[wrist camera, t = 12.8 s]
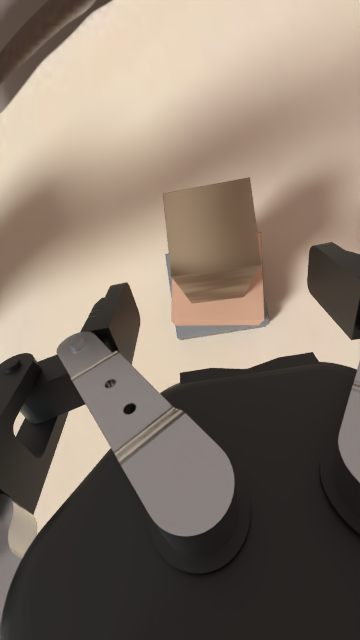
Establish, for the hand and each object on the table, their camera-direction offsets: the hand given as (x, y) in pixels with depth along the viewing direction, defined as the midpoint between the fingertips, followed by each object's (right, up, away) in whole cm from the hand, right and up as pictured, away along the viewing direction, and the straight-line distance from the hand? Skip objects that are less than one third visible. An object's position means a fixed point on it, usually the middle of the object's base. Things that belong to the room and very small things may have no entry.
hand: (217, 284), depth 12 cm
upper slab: (+2, +2, +15) cm, 15 cm away
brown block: (+1, +2, +11) cm, 12 cm away
